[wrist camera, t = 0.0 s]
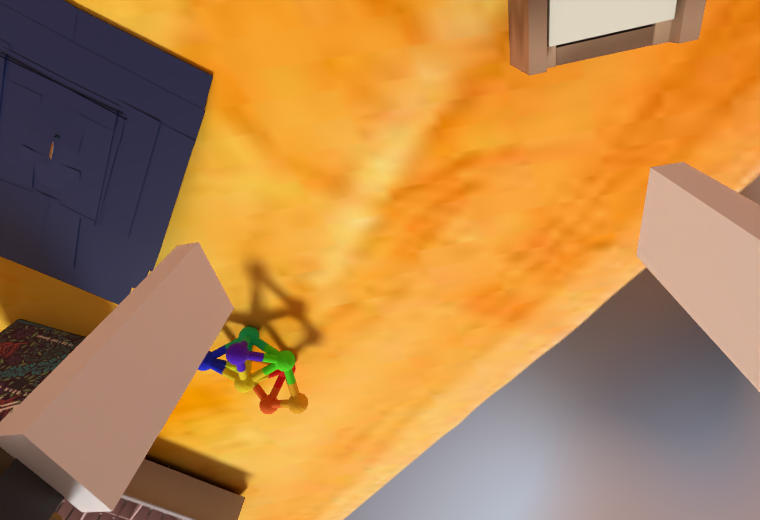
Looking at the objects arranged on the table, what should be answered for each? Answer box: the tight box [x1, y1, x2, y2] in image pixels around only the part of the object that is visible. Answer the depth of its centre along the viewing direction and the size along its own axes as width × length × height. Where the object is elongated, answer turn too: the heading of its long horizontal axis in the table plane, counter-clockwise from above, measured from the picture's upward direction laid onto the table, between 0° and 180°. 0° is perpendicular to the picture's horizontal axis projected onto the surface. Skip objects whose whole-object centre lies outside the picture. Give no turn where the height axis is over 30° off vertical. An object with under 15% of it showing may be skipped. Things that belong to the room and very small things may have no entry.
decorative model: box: [198, 327, 308, 414], centre depth 52 cm, size 13×9×15 cm
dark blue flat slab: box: [0, 0, 213, 305], centre depth 40 cm, size 24×30×4 cm
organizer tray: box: [55, 459, 245, 520], centre depth 76 cm, size 32×40×10 cm
